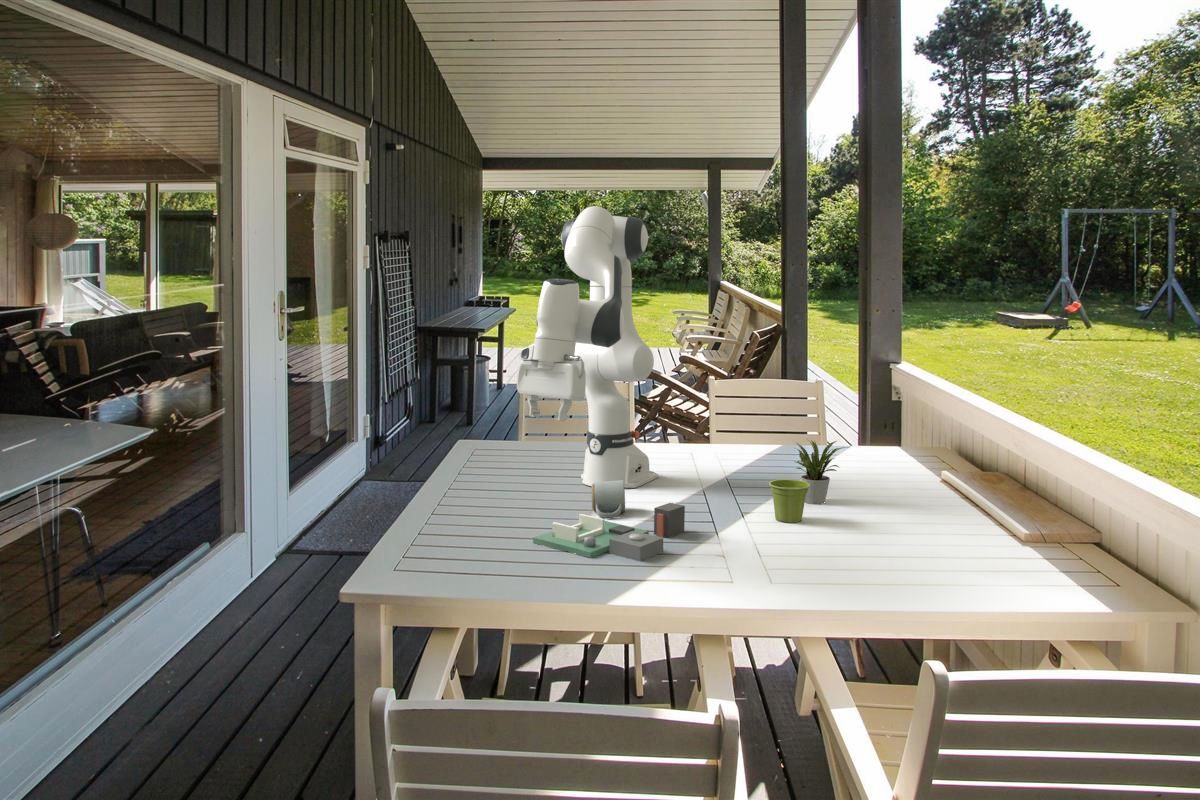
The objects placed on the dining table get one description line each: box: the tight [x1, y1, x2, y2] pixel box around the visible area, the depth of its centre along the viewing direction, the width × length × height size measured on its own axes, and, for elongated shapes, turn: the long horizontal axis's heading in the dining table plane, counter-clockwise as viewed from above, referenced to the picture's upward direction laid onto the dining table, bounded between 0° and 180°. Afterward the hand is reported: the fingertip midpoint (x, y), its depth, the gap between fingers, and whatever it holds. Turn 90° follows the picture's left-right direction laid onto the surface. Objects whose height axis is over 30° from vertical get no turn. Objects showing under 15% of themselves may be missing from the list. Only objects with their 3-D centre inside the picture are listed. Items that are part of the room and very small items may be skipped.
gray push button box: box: [608, 531, 664, 562], centre depth 199 cm, size 8×8×4 cm
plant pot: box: [768, 478, 810, 524], centre depth 224 cm, size 9×9×9 cm
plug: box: [653, 502, 686, 538], centre depth 213 cm, size 7×4×6 cm, turn 140°
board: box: [532, 513, 650, 559], centre depth 208 cm, size 20×16×4 cm
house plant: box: [793, 438, 851, 505], centre depth 240 cm, size 14×14×16 cm
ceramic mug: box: [591, 480, 626, 519], centre depth 229 cm, size 11×8×8 cm
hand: (547, 418), depth 204 cm, fingers open, 8 cm apart
